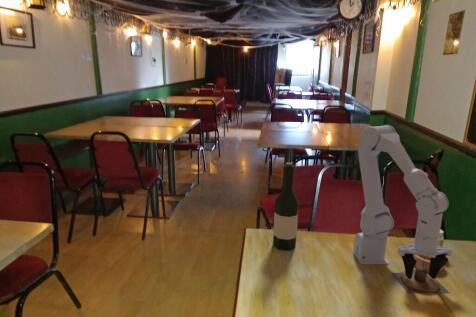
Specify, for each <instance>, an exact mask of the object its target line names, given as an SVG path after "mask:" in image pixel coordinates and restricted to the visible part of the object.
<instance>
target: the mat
mask: <svg viewBox="0 0 476 317" xmlns="http://www.w3.org/2000/svg"><path fill="white" fill-rule="evenodd" d="M401 273H402V272H391V275H392V276H393V277H394V278H395V280H396V281H397V282H398V283H399V284H400V285H401V287H402V288H403V289H404V290H405V292H406V293H407V294H424V293H423V292H419V291H416V290H413V289H411V288H409V287H407V286H406V285H405V284H404V283H403V282H402V281H401ZM427 274H429V272H427ZM433 294H451V293H450V291H449V290H448V289H447V288H445V286H444V285H442V284H441V282H439V289H438V291H436V292H434V293H433Z"/></svg>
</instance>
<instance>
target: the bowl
mask: <svg viewBox="0 0 476 317" xmlns="http://www.w3.org/2000/svg"><path fill="white" fill-rule="evenodd" d="M413 257H414V259H415V260H416V261H417V262H416V264H415V266H414V267H416V266H422V267H425V268H426V269H427V272H429V268H430V257H428V256H424V255H413ZM442 270H444V266H443V267H442V268H441V269H440V271H439V272H438V273H440V272H442Z"/></svg>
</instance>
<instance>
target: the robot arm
mask: <svg viewBox="0 0 476 317" xmlns="http://www.w3.org/2000/svg"><path fill="white" fill-rule="evenodd" d="M358 141H359V146H358V149H357V150H358V151H357V154H358V162H359V169H360V174H361V183H362V189H363V195H364V202H365V206H364V208H363V209H362V210H361V212H360V222H359V226H360V229H361V231H362V232H358V233H356V234H355V236H354V243H353V250H352V253H353V255H354V256H355V258H356V259H357V261H358V263H359V264H361V265H390V262H389V261H388V259H387V258H386V257H385V256H386V250H387V243H388V236H389V234H390V231H391V230H392V229H393V228H394V226H395V221H394V218H393V216H392V214H391V211H390V208H389V207H388V206H387V205H385V203H384V197H383V191H382V182H381V176H380V170H379V168H380V167H379V162H378V156H379V154H380V153H381V152H385V153H387V154H388V155H389V156H390V157H391V158H392V160H393V161H394V163H395V164H396V165H397V166H398V167H399V169H400V170H401V172H403V174H404V175H403V182H404V183H405V185H406V186H407V188H408V190H409V191H410V192H411V194H412V195H413V198H414V199H415V200H416V201H415V208H416V210H417V212H418V213H417V214H418V217H417V223H416V224H417V225H416V229H415V236H414V242H413V244H408V245H403V246H398V247H397V253H398V255H399V256H400V257H401V259H402V261H403V262H402V263H403V266H404V271H405V275H406V276H407V277H408V279H411V278H412V274H413V270H415V269H414V268H415V267H416V266H415V264H416V262H417V261H416V260H415V259H414V257H413V255H424V256H428V257H430V268H429V271H428V273H429V276H431V277H432V278H433V279H437V278H436V277H437V276H438V274H439V273H440V272H441V271H440V269H441V268H442V267H443V268H444V266H445V265H447V264H448V262H449V258H448V257H451V256H452V252H453V250H452V249H451V248H450V247H449V246H443V247H442V246H437V245H438V239H439V233H440V229H441V227H442V223H443V222H442V221H443V215H444V213H443V212H445V211H447V210H448V208H449V205H450V203H449V202H450V201H449V199H448V198H447V195H446V194H445V193H444V192H442V191H439V190H438V189H437V188H436V187H435V186H434V185H433V183H432V182H431V180H430V179H429V178H428V177H429V174H428V173H427V172H424V170H422V169H419V168H417V167H416V166H415V164H414V162H413V161H412V159H411V157H410V155H408V153H407V150H405V147H404V146H403V144H402V143H401V139H400V135H399V134H398V133H397V131H396V129H395V128H394V127H393V126H392V125H390V124H384V125H380V126H379V125H378V126H377V125H376V126H366V127H364V128H363V129H362V130H361V132H360V133H359V134H358ZM439 271H440V272H439Z"/></svg>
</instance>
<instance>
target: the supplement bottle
mask: <svg viewBox="0 0 476 317" xmlns="http://www.w3.org/2000/svg"><path fill="white" fill-rule="evenodd" d="M444 233H445V232H444V230H442V229H441V228H440V233H439V239H438V245H437V246H442V247H444V240H445V237H444Z"/></svg>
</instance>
